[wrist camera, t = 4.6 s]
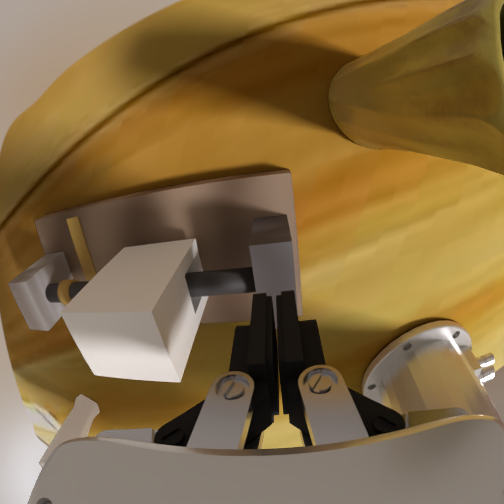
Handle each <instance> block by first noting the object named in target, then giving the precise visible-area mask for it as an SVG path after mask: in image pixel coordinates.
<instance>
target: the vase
mask: <svg viewBox="0 0 504 504" xmlns="http://www.w3.org/2000/svg"><path fill="white" fill-rule="evenodd" d="M328 100H329V107H330V111H331V114H332V117H333V119H334V121H335V123H336V125H337V126H338V127H339V129H340V130H341V131H342V132H343V133H344V134H345V135H346V136H347V137H348V138H350V139H351V140H352V141H353V142H355V143H357V144H359V145H361V146H364V147H367V148H371V149H378V150H381V149H394V150H400V151H410V152H416V153H421V154H427V155H431V156H435V157H440V158H445V159H449V160H453V161H458V162H463V163H467V164H471V165H475V166H478V167H481V168H484V169H487V170H490V171H493V172H496V173H499V174H502V175H504V0H465V1H463V2H461V3H459V4H457V5H455V6H454V7H452V8H450V9H448V10H446V11H444V12H442V13H441V14H439V15H437V16H435V17H434V18H432V19H430V20H428V21H427V22H425V23H423V24H422V25H420V26H419V27H417V28H415V29H413V30H412V31H410V32H408V33H407V34H405V35H403V36H402V37H400V38H398V39H396V40H394V41H392V42H390V43H388V44H386V45H384V46H382V47H380V48H378V49H376V50H374V51H372V52H370V53H368V54H366V55H364V56H362V57H360V58H358V59H356V60H354V61H352V62H349V63H347V64H345V65H344V66H343V67H342V68H341V69H340V70H339V71H338V72H337V74H336V75H335V76H334V78H333V79H332V81H331V84H330V89H329V95H328Z"/></svg>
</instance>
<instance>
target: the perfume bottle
mask: <svg viewBox="0 0 504 504" xmlns="http://www.w3.org/2000/svg"><path fill="white" fill-rule="evenodd" d="M99 413H100V410H99V407H98V404H97V403H96V402H94V401H92V400H91V399H89V398H87V397H86V396H84V395H82V394H80V395H79V396H78V397H76V400H75V404H74V408H73V409H72V411H71V412H70V414H69V415H68V417H67V418H66V420H65V421H64V423H63V424H62V426H61V428H60V429H59V431H58V432H57V434H56V436H55V437H54V439H53V440H52V442H51V444H50V445H49V447H48V449H47V450H46V452H45V453H44V455H43V457H42V459H41V460H40V462H39V464H40V466H41V467H42V468H43V466H44V464H45V463H46V461H47V459H48V458H49V456H50V454H51V453H52V452H53V450H54V449H55V448H56V447H57V446H58V445H59V444H61V443H63V442H64V441H67V440H70V439H74V438H82V437H87V435H88V432H89V430H90V427H91V424H92V422H93V419H94V418H95V417H96V416H97V415H98V414H99Z"/></svg>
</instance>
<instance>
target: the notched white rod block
mask: <svg viewBox="0 0 504 504" xmlns="http://www.w3.org/2000/svg"><path fill="white" fill-rule="evenodd" d="M200 271H203V269H202V265H201V261H200V256H199V252H198V247H197V243H196V238H195V239H187V240H179V241H170V242H163V243H155V244H147V245H139V246H132V247H124V248H123V249H122V250H121V251H120V252H119V253H118V254H117V255H116V256H115V257H114V258H113V259H112V260H111V261H110V262H109V263H108V264H107V265H106V266H104V267H103V268H102V269H101V270H100V271H99V272H98V273H97V274H96V275H95V276H94V277H93V278H92V279H91V280H90V281H89V282H88V283H87V285H86V286H85V287H84V288H83V289H82V290H81V291H80V292H79V293H78V294H77V295H76V296H75V297H74V298H73V299H72V300H71V301H70V302H69V303H68V304H67V306H66V307H65V308H64V309H63V310H62V311H61V312H60V313H61V315H62V317H63V319H64V321H65V323H66V325H67V327H68V329H69V331H70V333H71V335H72V337H73V339H74V341H75V343H76V344H77V346H78V348H79V350H80V352H81V353H82V355H83V357H84V359H85V360H86V362H87V364H88V365H89V367H90V369H91V370H92V372H93V373H94V375H98V376H105V377H114V378H123V379H134V380H146V381H162V382H181V379H182V376H183V373H184V370H185V367H186V363H187V360H188V357H189V354H190V351H191V348H192V345H193V342H194V339H195V336H196V332H197V329H198V326H199V323H200V320H201V317H202V314H203V311H204V308H205V305H206V302H207V299H208V296H202V297H190V294H189V290H188V286H187V283H186V279H185V274H186V273H189V272H200Z"/></svg>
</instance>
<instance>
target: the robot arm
mask: <svg viewBox="0 0 504 504" xmlns="http://www.w3.org/2000/svg"><path fill="white" fill-rule="evenodd" d="M276 309H277V336H278V348H277V338H276V328H275V319H274V310H273V301H272V296H267V294H266V293H257V294H253V298H252V310H251V322H250V325H249V326H236V329H235V335H234V341H233V348H232V355H231V362H230V369H229V372H227V373H224V374H222V375H220V376H218V377H217V378H216V379H215V380H214V381H213V383H212V384H211V387H210V389H209V392H208V394H207V397H206V399H205V400H203V401H202V402H200V403H199V404H197V405H196V406H194V407H193V408H191V409H189V410H188V411H186V412H185V413H183V414H181V415H180V416H178V417H176V418H175V419H173V420H172V421H170V422H168V423H167V424H165V425H163V426H162V427H161V428H159V429H158V430H153V429H152V428H144V429H125V430H105V431H102V432H100V433H98V434H97V436H96V437H82V438H74V439H70V440H67V441H64V442H63V443H61V444H59V445H58V446H57V447H56V448H55V449H54V450H53V452H52V453H51V454H50V456H49V458H48V459H47V461H46V463H45V464H44V466H43V468H42V470H41V473H40V474H39V477H38V479H37V481H36V483H35V486H34V488H33V490H32V493H31V496H30V498H29V501H28V504H504V423H503V421H502V419H501V417H500V415H499V413H498V412H497V410H496V408H495V406H494V404H493V402H492V401H491V399H490V397H489V395H488V393H487V392H486V390H485V388H484V386H483V385H482V384H483V383H485V382H488V381H490V380H492V379H493V377H494V374H495V371H494V367H493V366H492V364H493V363H494V356H493V354H492V353H488V354H485V355H483V356H481V357H479V358H477V357H475V356H474V354H473V353H472V341H471V337H470V335H469V334H468V332H467V331H466V329H465V328H464V327H463V326H462V325H460V324H459V323H457V322H454V321H448V320H445V321H435V322H431V323H427V324H424V325H421V326H419V327H416V328H414V329H412V330H410V331H408V332H406V333H404V334H403V335H401V336H400V337H398V338H397V339H395V340H394V341H393V342H391V343H390V344H389V345H388V346H387V347H385V348H384V349H383V350H382V351H381V352H380V353H379V354H378V355H377V356H376V357H375V358H374V360H373V361H372V363H371V364H370V365H369V367H368V368H367V370H366V372H365V374H364V377H363V381H362V392H363V395H362V394H359V393H357V392H355V391H353V390H352V389H350V388H348V387H347V386H346V384H345V381H344V379H343V377H342V375H341V374H340V372H339V371H338V370H337V369H335V368H334V367H331V366H328V365H325V360H324V355H323V350H322V345H321V341H320V336H319V331H318V326H317V322H316V320H306V321H298V314H297V307H296V300H295V293H294V290H290V291H281V295H276ZM278 362H279V373H280V383H281V393H282V403H283V413H284V414H289V420H290V423H291V424H292V425H294V426H295V427H297V428H298V429H299V430H300V436H301V440H302V444H303V447H293V448H278V449H261V447H262V442H263V438H264V430H265V429H266V428H268V427H269V426H270V425H271V424H272V423H274V415H279V380H278Z"/></svg>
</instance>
